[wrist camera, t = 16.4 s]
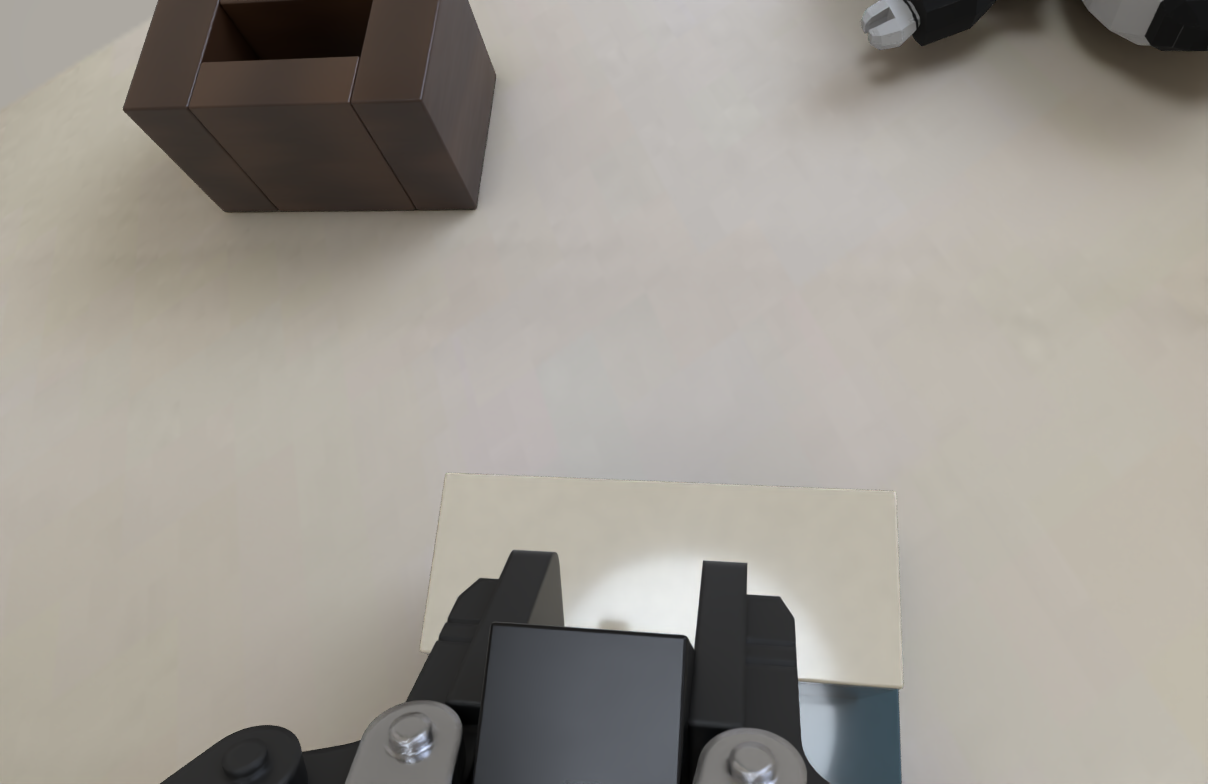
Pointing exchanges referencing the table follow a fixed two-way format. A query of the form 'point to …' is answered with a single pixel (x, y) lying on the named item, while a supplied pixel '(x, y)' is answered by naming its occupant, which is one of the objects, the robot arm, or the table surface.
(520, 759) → the dark grey tall bar
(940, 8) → the robot toy
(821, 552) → the slotted fixture
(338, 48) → the brown rectangular frame
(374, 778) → the robot arm
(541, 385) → the table surface
